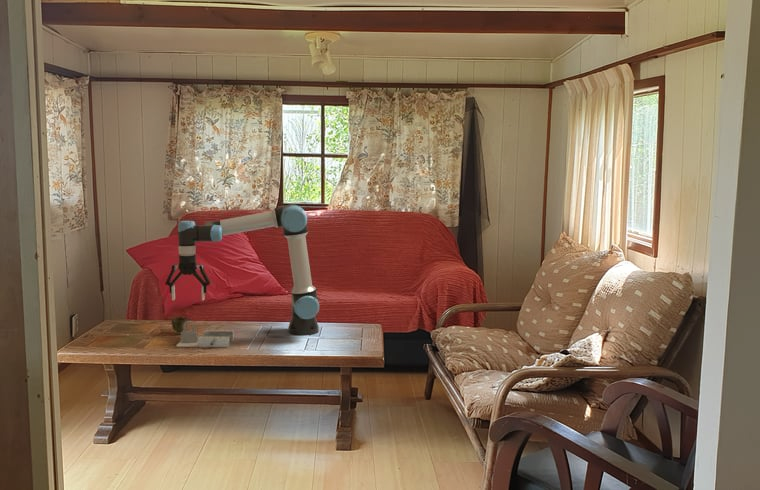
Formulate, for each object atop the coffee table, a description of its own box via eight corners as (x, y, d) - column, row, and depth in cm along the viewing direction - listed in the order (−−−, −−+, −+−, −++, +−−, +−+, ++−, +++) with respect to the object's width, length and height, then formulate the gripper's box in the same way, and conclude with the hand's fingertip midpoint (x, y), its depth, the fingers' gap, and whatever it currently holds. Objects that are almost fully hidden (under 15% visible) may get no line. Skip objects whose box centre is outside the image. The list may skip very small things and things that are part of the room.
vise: (234, 339, 329) (233, 330, 328) (227, 349, 312) (227, 339, 311) (204, 339, 328) (204, 329, 327) (196, 349, 311) (196, 339, 311)
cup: (190, 333, 338) (190, 317, 337) (180, 336, 332) (180, 320, 330) (178, 331, 341) (178, 315, 340) (168, 334, 335) (168, 318, 334)
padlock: (180, 343, 319) (180, 322, 317) (182, 340, 323) (182, 319, 321) (196, 343, 319) (195, 322, 318) (198, 340, 323) (197, 320, 322)
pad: (201, 339, 327) (201, 338, 327) (196, 346, 315) (196, 345, 315) (182, 339, 327) (182, 338, 327) (176, 346, 315) (176, 345, 315)
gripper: (216, 253, 319) (217, 298, 322) (162, 253, 318) (163, 298, 321) (213, 255, 312) (214, 301, 315) (157, 255, 311) (158, 301, 314)
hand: (188, 299), depth 318 cm, fingers open, 13 cm apart
